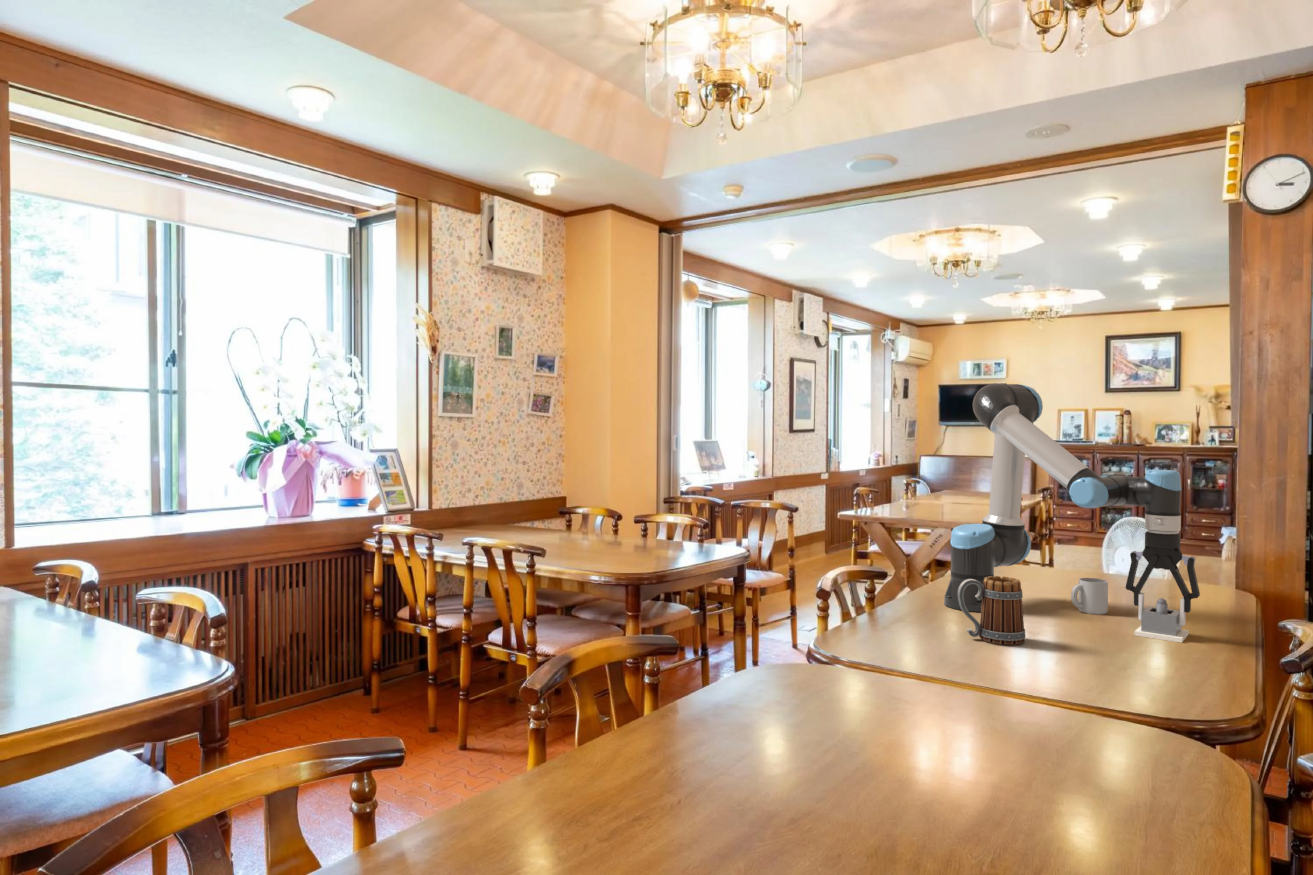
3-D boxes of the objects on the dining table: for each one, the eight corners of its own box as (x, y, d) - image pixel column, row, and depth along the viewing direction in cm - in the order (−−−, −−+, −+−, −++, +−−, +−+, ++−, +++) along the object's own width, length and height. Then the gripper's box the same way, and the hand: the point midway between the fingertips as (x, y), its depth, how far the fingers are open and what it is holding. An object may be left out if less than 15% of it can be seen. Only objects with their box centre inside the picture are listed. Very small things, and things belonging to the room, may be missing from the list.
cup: (1113, 614, 220) (1113, 582, 219) (1079, 615, 219) (1079, 583, 219) (1097, 608, 227) (1097, 577, 227) (1063, 609, 226) (1064, 578, 226)
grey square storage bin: (1141, 631, 198) (1141, 611, 198) (1147, 625, 204) (1147, 606, 203) (1176, 636, 193) (1176, 616, 193) (1181, 630, 199) (1181, 610, 199)
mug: (1016, 634, 198) (1016, 575, 198) (1032, 646, 188) (1032, 583, 188) (952, 633, 200) (952, 574, 200) (964, 644, 189) (964, 582, 189)
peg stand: (1134, 635, 198) (1134, 598, 198) (1142, 627, 205) (1142, 592, 205) (1181, 642, 191) (1182, 604, 191) (1188, 634, 199) (1188, 597, 199)
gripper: (1111, 529, 202) (1110, 617, 202) (1211, 537, 188) (1210, 632, 188) (1118, 526, 208) (1117, 612, 208) (1215, 533, 194) (1214, 626, 194)
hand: (1161, 621), depth 198 cm, fingers open, 8 cm apart
